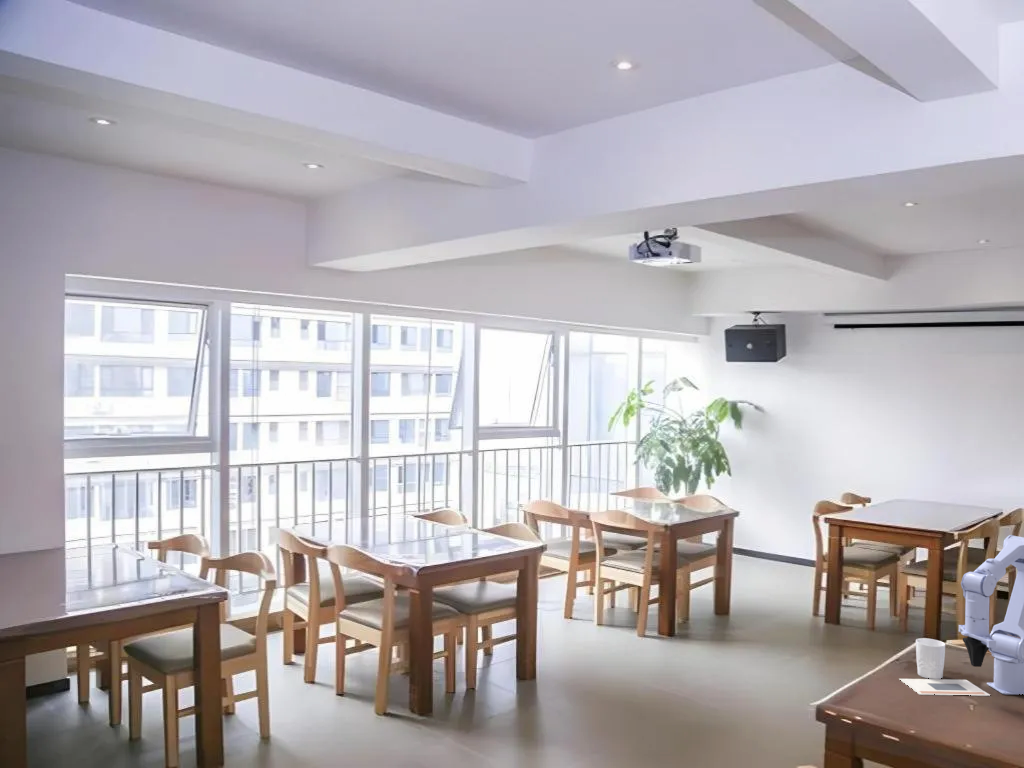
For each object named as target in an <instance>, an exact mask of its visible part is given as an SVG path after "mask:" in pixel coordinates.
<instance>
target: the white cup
mask: <svg viewBox="0 0 1024 768" xmlns="http://www.w3.org/2000/svg"><path fill="white" fill-rule="evenodd" d="M915 654H916V655H915V657H916V666H917V667H916V668H917V675H918V676H919V677H922V678H923V679H928V678H929V679H941V678H942V679H943V676H944V666H945V658H946V657H945V655H946V643H945V642H943V641H941V640H938V639H933V638H929V637H928V638H926V637H923V638H921V637H920V638H916V639H915Z"/></svg>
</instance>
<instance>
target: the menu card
mask: <svg viewBox="0 0 1024 768" xmlns="http://www.w3.org/2000/svg"><path fill="white" fill-rule="evenodd" d="M898 680H899V681H900V680H901V681H900V682H901V683H903V684H904V683H905V684H904V685H906V686H907V685H908V686H909V687H908V686H907V687H908V688H910V689H911V688H912V689H913V690H912V689H911V690H912V691H914V692H915V693H916V692H917V694H918V695H919V696H953V695H969V696H970V695H971V696H970V697H991V696H990V695H991V694H990V693H988V692H986V691H985V690H983V689H982V688H980V687H979V686H977V685H975V684H974V683H973V682H971V681H969V680H967V679H945V678H944V679H943V678H942V679H928V678H898ZM934 694H935V695H934ZM969 696H968V697H969Z"/></svg>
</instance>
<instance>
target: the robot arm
mask: <svg viewBox="0 0 1024 768" xmlns="http://www.w3.org/2000/svg"><path fill="white" fill-rule="evenodd" d="M1002 544H1003V546H1002V549H1001V550H1000V551H999V553H998V554H997V555H996V556H994V557H995V558H987V559H986V560H985V561H983V562H982V564H980V565H979V566H978V567H977V568H976V569H975V570H974V571H968V572H966V573H964V574H963V576H962V578H961V582H960V586H961V590H962V595H963V598H964V599H965V609H964V611H965V614H964V615H965V616H964V617H965V618H964V619H965V620H964V624H958V632H959V633H960V634H961V635H962V636H964V637H963V638H962V641H963V644H964V646H965V647H966V649H967V653H968V656H969V657H968V658H969V662H970V664H971V666H972V667H974V668H975V667H976V668H982V666H983V662H984V660H985V656H986V654H987V652H988V651H989V652H990V653H991V656H992V657H993V682H986V685H987V686H989V687H990V688H992V689H994V690H995V691H996V692H999V693H1000V694H1002V695H1019V694H1020V695H1022V694H1023V695H1024V537H1023V536H1018V535H1017V536H1016V535H1014V534H1009V535H1008V536H1006V537H1005V538H1004V540H1003V543H1002ZM1010 565H1011V566H1013V567H1015V568H1016V570H1017V572H1016V573H1017V574H1016V577H1015V579H1014V584H1013V588H1012V591H1011V594H1010V595H1011V596H1010V597H1009V602H1008V605H1007V609H1006V614H1005V616H1004V620H1003V621H1002V622H1000V623H997V624H994V625H993V627H992V629H991V631H990V596H992V595H993V593H995V588H996V587H997V584H998V582H999V581H1000V580H1001V579H1002V578H1003V577H1004V576H1005V575H1006V573H1007V570H1006V568H1008V567H1010Z"/></svg>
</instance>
